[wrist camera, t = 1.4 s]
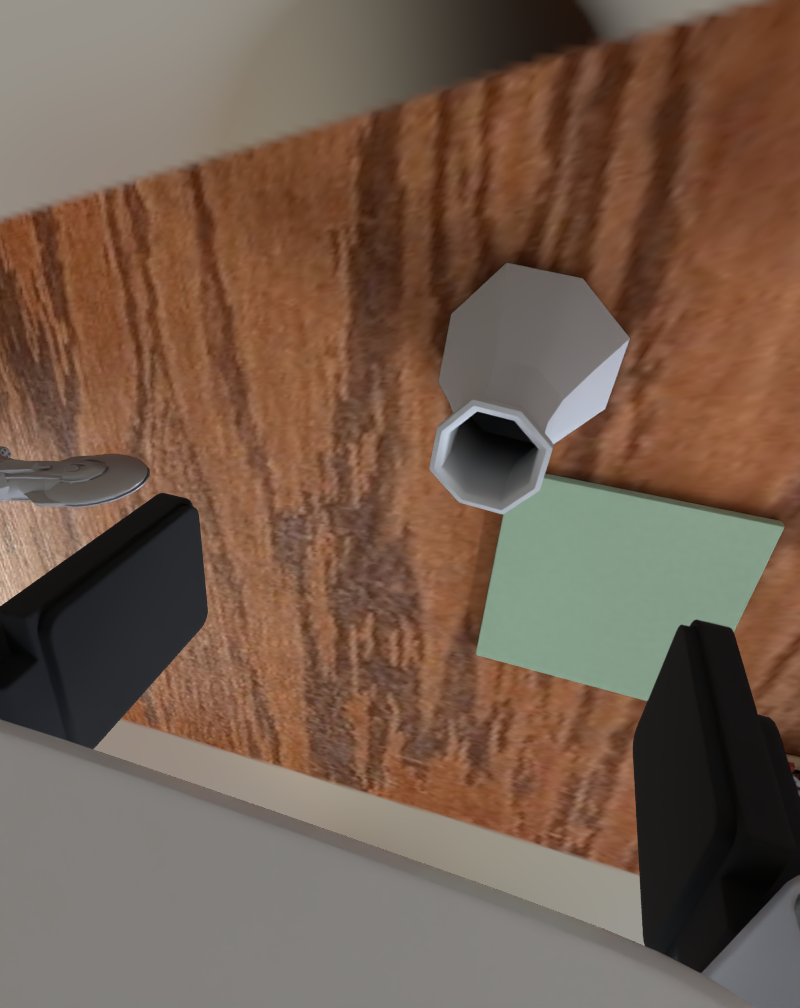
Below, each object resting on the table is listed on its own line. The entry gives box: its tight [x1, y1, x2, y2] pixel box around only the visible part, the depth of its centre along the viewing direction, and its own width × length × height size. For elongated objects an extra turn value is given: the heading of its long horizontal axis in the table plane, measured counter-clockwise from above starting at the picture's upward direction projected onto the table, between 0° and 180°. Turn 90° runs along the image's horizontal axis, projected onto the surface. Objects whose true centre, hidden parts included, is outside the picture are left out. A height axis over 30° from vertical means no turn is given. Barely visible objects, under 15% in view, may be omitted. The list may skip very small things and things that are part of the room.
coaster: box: [476, 473, 784, 701], centre depth 28 cm, size 11×11×1 cm
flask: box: [429, 263, 630, 514], centre depth 20 cm, size 7×7×10 cm
